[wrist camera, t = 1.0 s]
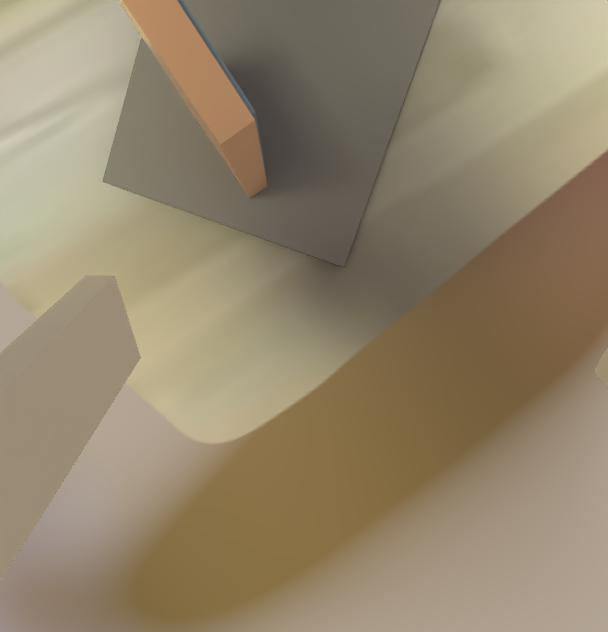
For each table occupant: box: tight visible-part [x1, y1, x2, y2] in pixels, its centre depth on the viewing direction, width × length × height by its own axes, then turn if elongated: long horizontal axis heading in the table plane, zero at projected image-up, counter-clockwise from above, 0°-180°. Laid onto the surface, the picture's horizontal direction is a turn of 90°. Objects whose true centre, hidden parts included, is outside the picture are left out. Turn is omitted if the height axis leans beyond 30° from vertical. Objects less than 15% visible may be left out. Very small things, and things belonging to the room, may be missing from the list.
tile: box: [119, 0, 267, 199], centre depth 18 cm, size 2×8×12 cm, turn 34°
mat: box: [103, 0, 440, 267], centre depth 24 cm, size 20×16×1 cm
